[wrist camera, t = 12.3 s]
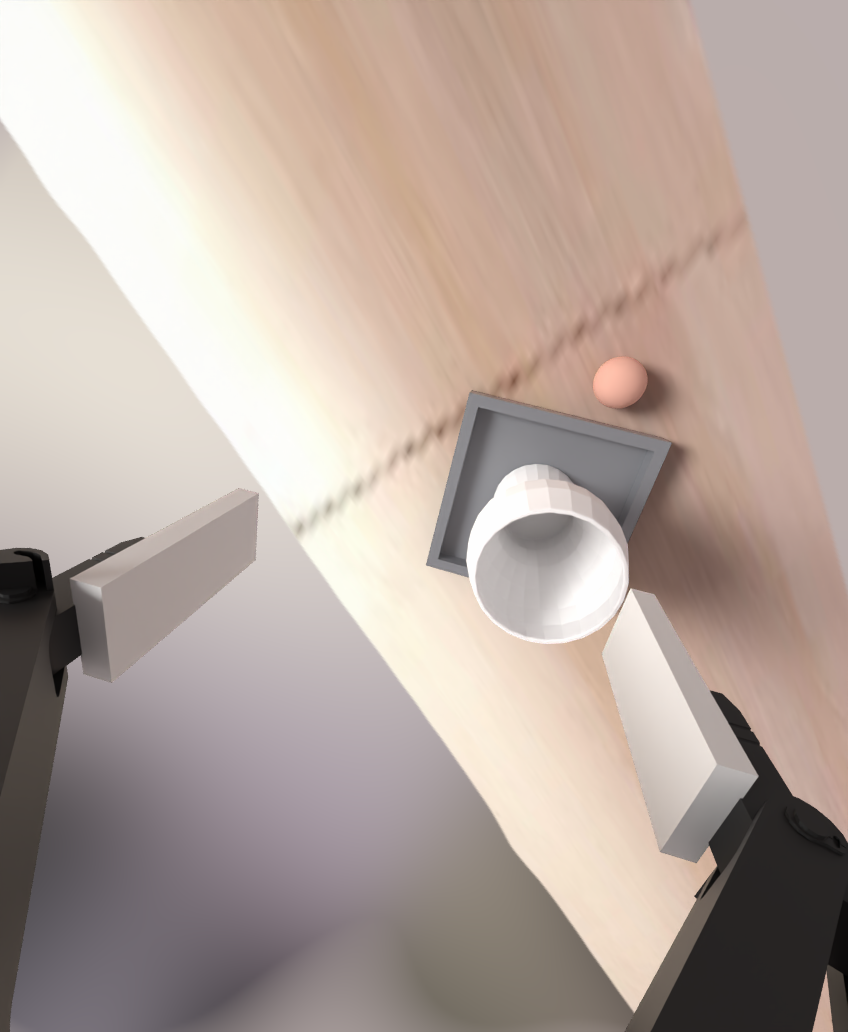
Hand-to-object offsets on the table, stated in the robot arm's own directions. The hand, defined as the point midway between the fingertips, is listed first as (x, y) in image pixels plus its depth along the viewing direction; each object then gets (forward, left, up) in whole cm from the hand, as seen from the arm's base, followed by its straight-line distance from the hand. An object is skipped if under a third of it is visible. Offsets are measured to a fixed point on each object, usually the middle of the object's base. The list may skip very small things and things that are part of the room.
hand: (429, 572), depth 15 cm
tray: (+5, +7, -28) cm, 29 cm away
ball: (-7, +10, -28) cm, 30 cm away
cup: (+5, +7, -27) cm, 28 cm away
